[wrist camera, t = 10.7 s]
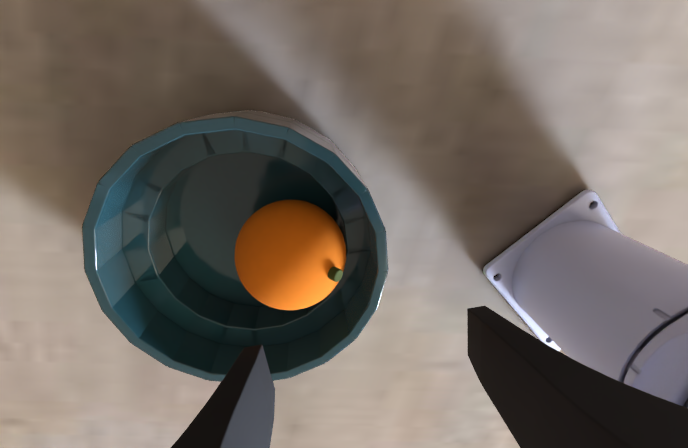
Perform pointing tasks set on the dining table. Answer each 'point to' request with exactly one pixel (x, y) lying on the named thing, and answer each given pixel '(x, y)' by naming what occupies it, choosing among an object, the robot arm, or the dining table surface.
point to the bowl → (226, 243)
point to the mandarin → (290, 254)
